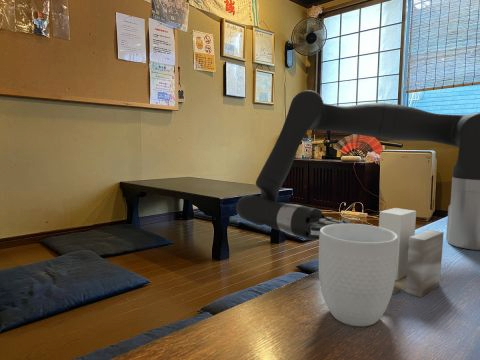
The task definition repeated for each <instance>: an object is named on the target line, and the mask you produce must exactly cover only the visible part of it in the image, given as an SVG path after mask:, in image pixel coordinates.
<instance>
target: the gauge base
mask: <svg viewBox="0 0 480 360" xmlns="http://www.w3.org/2000/svg"><path fill="white" fill-rule="evenodd" d="M443 244H444V231H438V230H434V229H426V230H424V231H422V232H419V233H415V235H413V236H410V237H409V244H408V266H407V275H406V276H404V277H402V278H400V279H399V280H395V282H394V287H393V291H392V295H395V294H397V293H398V292H400V291H401V290H402V291H404V292H405V293H407V294H409V295H412V296H416V297H418V298H423V297H424V296H425V295H427V294H428V293H430V292H431V291H433V290H435V289H436V288H438V287H439V286H440V284H441V272H442V260H443V259H442V258H443V246H444V245H443Z"/></svg>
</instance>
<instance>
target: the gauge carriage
mask: <svg viewBox="0 0 480 360" xmlns="http://www.w3.org/2000/svg"><path fill="white" fill-rule="evenodd" d="M378 219H379V221H378V227H381V228H385V229H388V230H390V231H392V232H394V233H396V235H397V236H398V246H397V251H398V253H397V267H396V275H395V280H399V279H400V278H402V277H404V276H406V275H407V266H408V244H409V237H410V236H413V235H416V221H417V220H416V219H417V211H416V210H411V209H405V208H399V207H393V208H389V209H385V210H382V211H379V218H378Z"/></svg>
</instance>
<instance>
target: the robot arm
mask: <svg viewBox="0 0 480 360" xmlns="http://www.w3.org/2000/svg"><path fill="white" fill-rule="evenodd" d="M308 131H330V132H332V131H333V132H340V133H341V132H342V133H345V134H352V135H357V136H358V135H359V136H364V137H370V138H376V139H383V140H384V139H385V140H389V141H390V140H393V141H405V142H407V141H408V142H415V141H416V142H431V143H432V142H433V143H437V144H443V145H446V146H451V147H454V148H458V152H457V153H458V155H457V159H456V163H455V165H454V166H453V168H452V175H451V176H452V180H451V190H450V191H451V192H450V194H451V195H450V204H449V205H448V209H447V210H448V211H447V223H446V233H445V234H446V236H445V239H446V241H447V243H448V244H449V245H452V246H454V247H457V248H461V249H467V250H468V249H469V250H475V251H480V112H477V113H471V114H444V113H434V112H430V111H426V110H422V109H419V108H415V107H411V106H408V105H401V104H396V103H387V102H385V103H384V102H367V103H361V104H360V103H359V104H354V105H336V104H328V103H324V100H323V98H322V97H321V95H320V94H319V93H318V92H316V91H315V90H309V89H307V90H302V91H299V92H298V93H297V94H295V95H294V97H293V99H292V100H291V102H290V105H289V108H288V112H287V115H286V117H285V121H284V123H283V126H282V128H281V131H280V132H279V135H278V138H277V140H276V141H275V144H274V145H273V148H272V150H271V152H270V153H269V156H268V158H267V159H266V161H265V163H264V165H263V167H262V169H261V171H260V173H259V174H258V176H257V178H256V180H255V185H256V186H257V189H259V190H260V196H259V195H254V194H245V195H243V196H241V198H239V199H238V200H237V203H236V209H235V210H236V212H237V215H238V216H239V217H240V218H241V219H242V220H245V221H247V222H250V223H252V224H254V225H257V226H266V227H269V228H271V229H273V230H278V231H281V232H283V233H285V234H288V235H291V236H295V237H298V238H302V239H306V240H308V241H315V240H319V235H320V229H321V228H322V227H324V226H327V225H332V224H354V223H353V222H352V221H350V220H348V219H346V218H341V219H340V220H339V219H335V218H334V217H330V216H324V213H323V211H322V210H321V209H319V208H316V207H310V206H306V205H301V204H297V203H296V204H293V203H286V202H279V201H278V197H279V193H280V191H281V188H282V186H283V184H284V182H285V180H286V178H287V177H288V175H289V172H290V171H291V168H292V165H293V163H294V161H295V157H296V154H297V152H298V149H299V147H300V145H301V143H302V141H303V139H304V137H305V135H306V134H307V132H308Z"/></svg>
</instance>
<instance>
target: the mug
mask: <svg viewBox="0 0 480 360" xmlns="http://www.w3.org/2000/svg"><path fill="white" fill-rule="evenodd" d="M318 240H319V241H318V267H317V268H318V278H319V287H320V291H321V294H322V296H323V297H322V298H323V300H324V303H325V305H326V306H327V309H328V311H329V312H330V314H331V315H332V316H333V317H334V318H335V320H336V321H338V322H340V323H343V324H345V325H347V326H352V327H368V326H372V325H374V324H376V323H377V322H378V321H379V320H380V319H381V318H382V316H383V314H385V312H386V310H387V308H388V306H389V303H390V300H391V299H392V295H393V294H392V291H393V287H394V282H395V275H396V267H397V253H398V251H397V246H398V236H397V235H396V233H394V232H392V231H390V230H388V229H385V228H381V227H379V226H376V225H369V224H365V223H364V224H363V223H353V224H332V225H327V226H324V227H322V228H321V229H320V235H319V239H318Z"/></svg>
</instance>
